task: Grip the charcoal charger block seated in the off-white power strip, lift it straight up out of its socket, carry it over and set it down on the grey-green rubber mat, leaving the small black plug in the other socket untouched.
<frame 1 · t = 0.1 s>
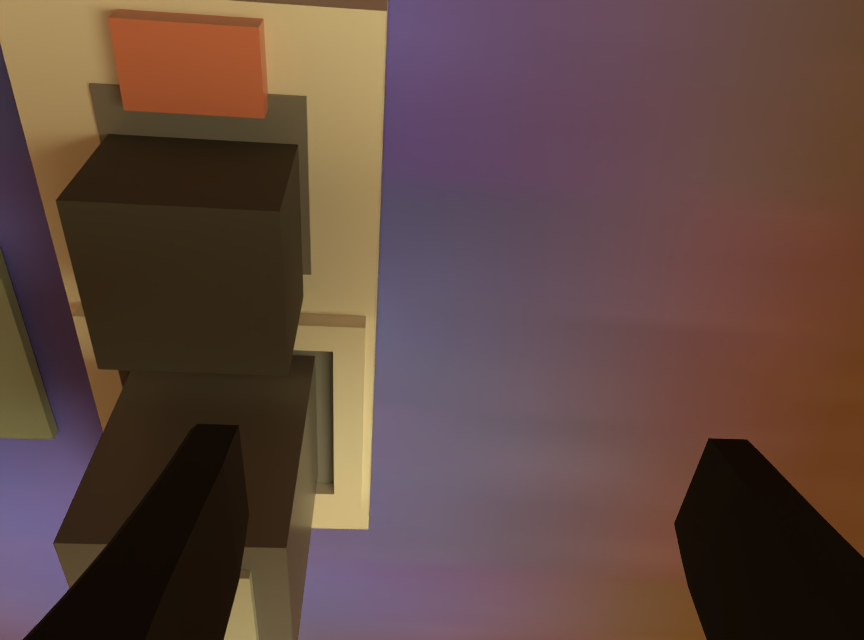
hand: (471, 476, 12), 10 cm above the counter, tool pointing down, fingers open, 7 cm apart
power strip: (243, 273, 21), on the counter
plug: (213, 221, 17), point 3 cm above the counter, touching power strip
charger: (235, 415, 21), point 3 cm above the counter, touching power strip
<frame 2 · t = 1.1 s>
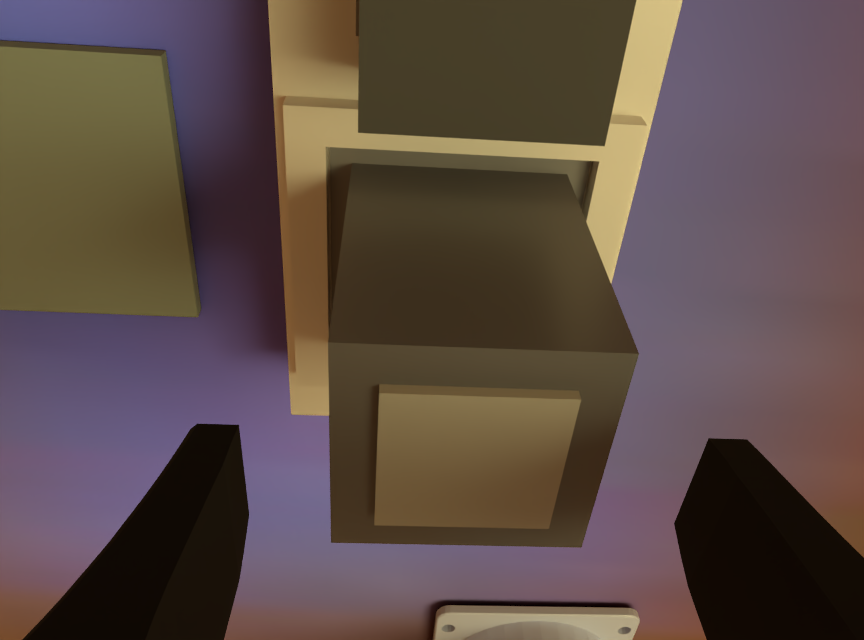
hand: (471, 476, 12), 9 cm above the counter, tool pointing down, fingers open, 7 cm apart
power strip: (456, 90, 17), on the counter
mat: (39, 186, 18), on the counter
charger: (451, 260, 17), point 3 cm above the counter, touching power strip
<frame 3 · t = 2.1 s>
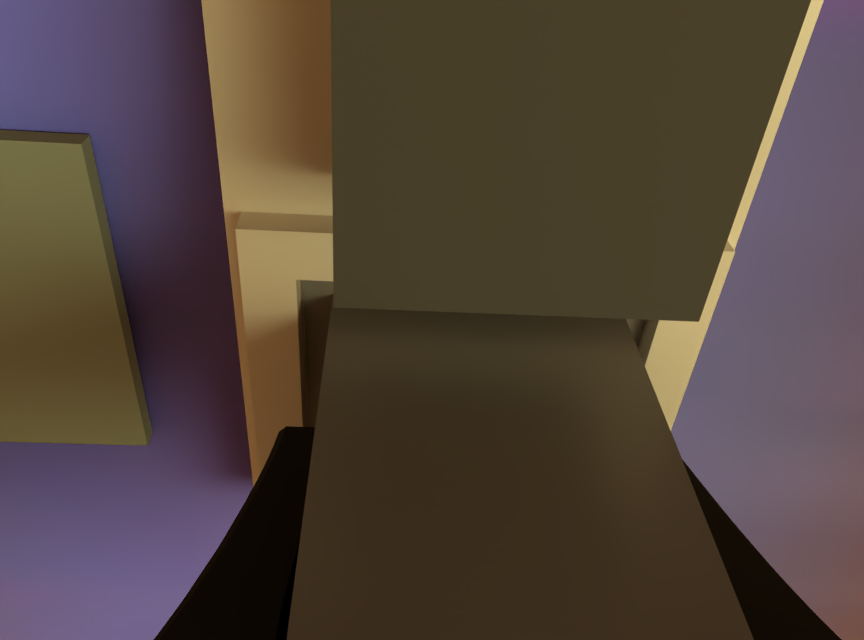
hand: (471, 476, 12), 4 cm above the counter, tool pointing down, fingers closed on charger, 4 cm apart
power strip: (471, 181, 13), on the counter
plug: (511, 43, 9), point 3 cm above the counter, touching power strip
charger: (464, 406, 13), point 3 cm above the counter, touching gripper, power strip
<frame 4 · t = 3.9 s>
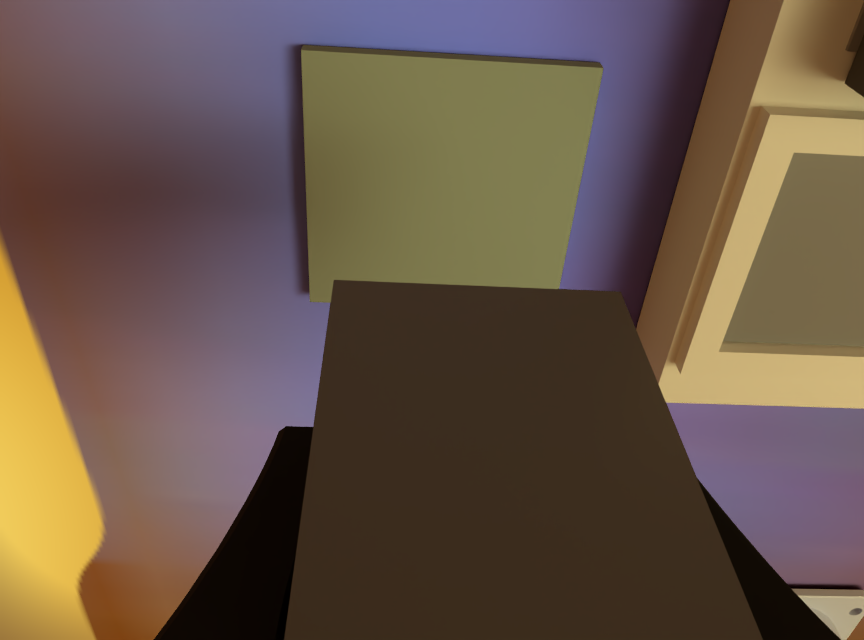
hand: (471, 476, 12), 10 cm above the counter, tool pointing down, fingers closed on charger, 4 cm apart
power strip: (854, 98, 19), on the counter
mat: (442, 189, 20), on the counter
charger: (465, 393, 13), point 8 cm above the counter, touching gripper
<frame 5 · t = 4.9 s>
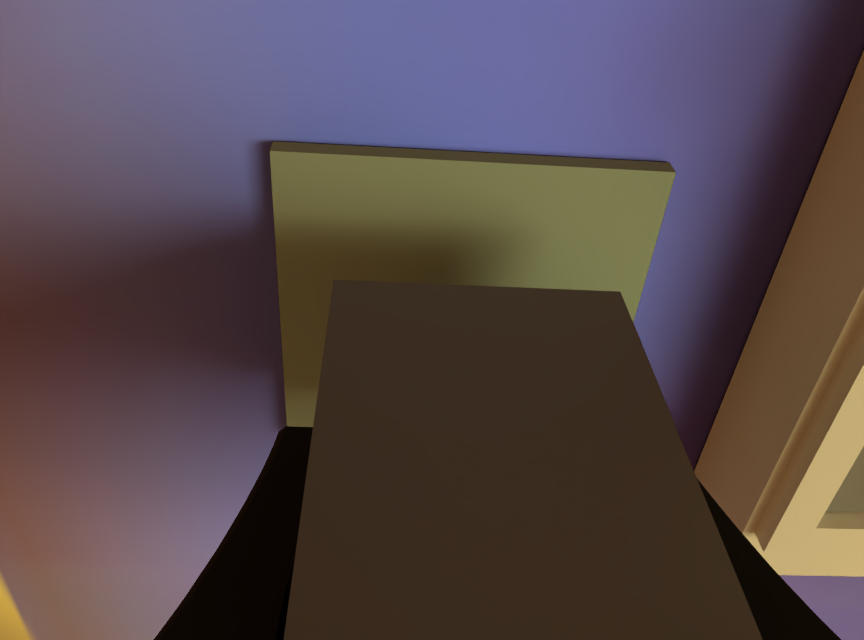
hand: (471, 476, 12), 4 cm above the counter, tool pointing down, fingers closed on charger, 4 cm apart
mat: (456, 313, 15), on the counter
charger: (464, 393, 13), point 3 cm above the counter, touching gripper
when the fingers open (3 cm above the counter, at t = 5.6 s): charger drops 1 cm, resting on mat.
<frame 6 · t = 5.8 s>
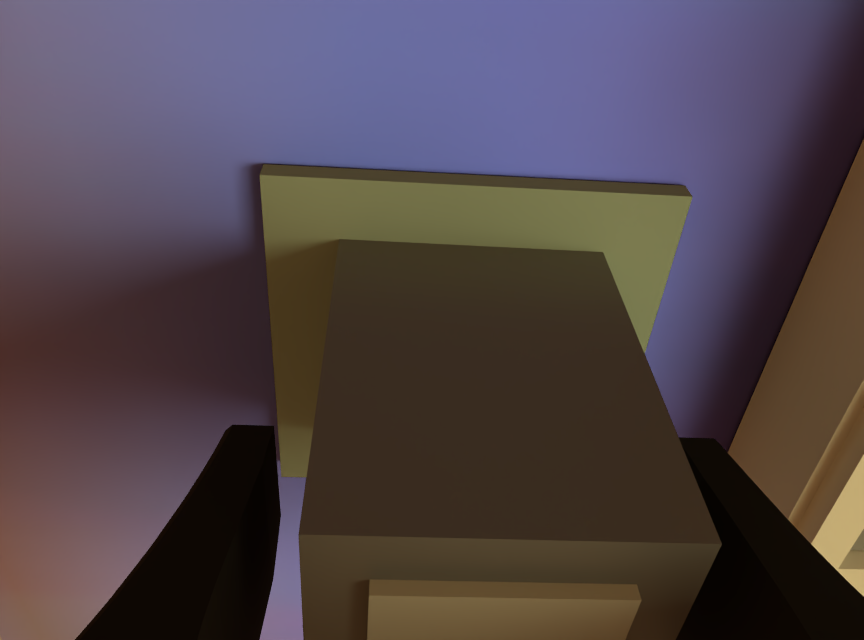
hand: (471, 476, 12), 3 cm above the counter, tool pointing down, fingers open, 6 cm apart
mat: (458, 341, 14), on the counter
charger: (459, 349, 14), resting on mat
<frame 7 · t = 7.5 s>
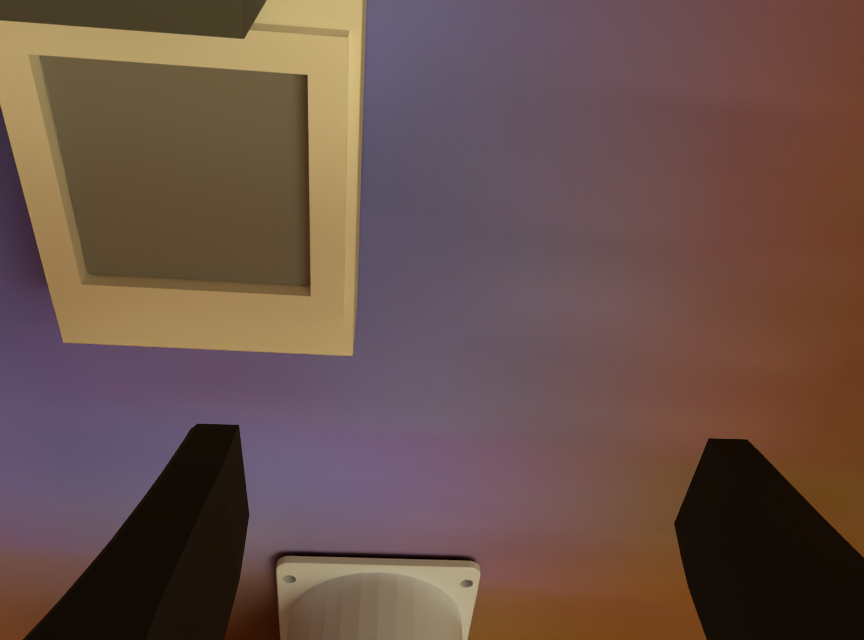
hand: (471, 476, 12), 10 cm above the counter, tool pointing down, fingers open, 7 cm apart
power strip: (201, 12, 17), on the counter
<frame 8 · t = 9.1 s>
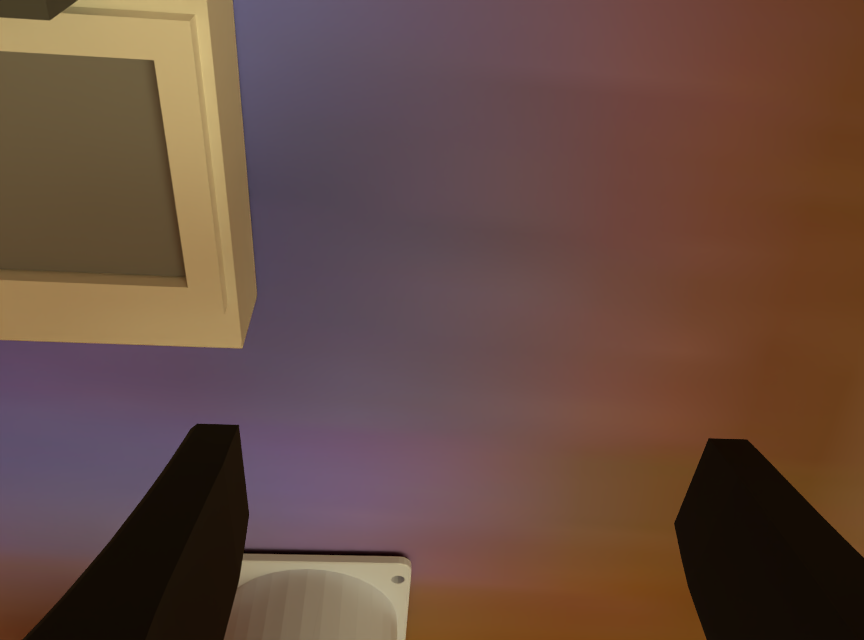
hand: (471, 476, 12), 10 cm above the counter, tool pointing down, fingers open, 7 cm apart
power strip: (64, 0, 17), on the counter
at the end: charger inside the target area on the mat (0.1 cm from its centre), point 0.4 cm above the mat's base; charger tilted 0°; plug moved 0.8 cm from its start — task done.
